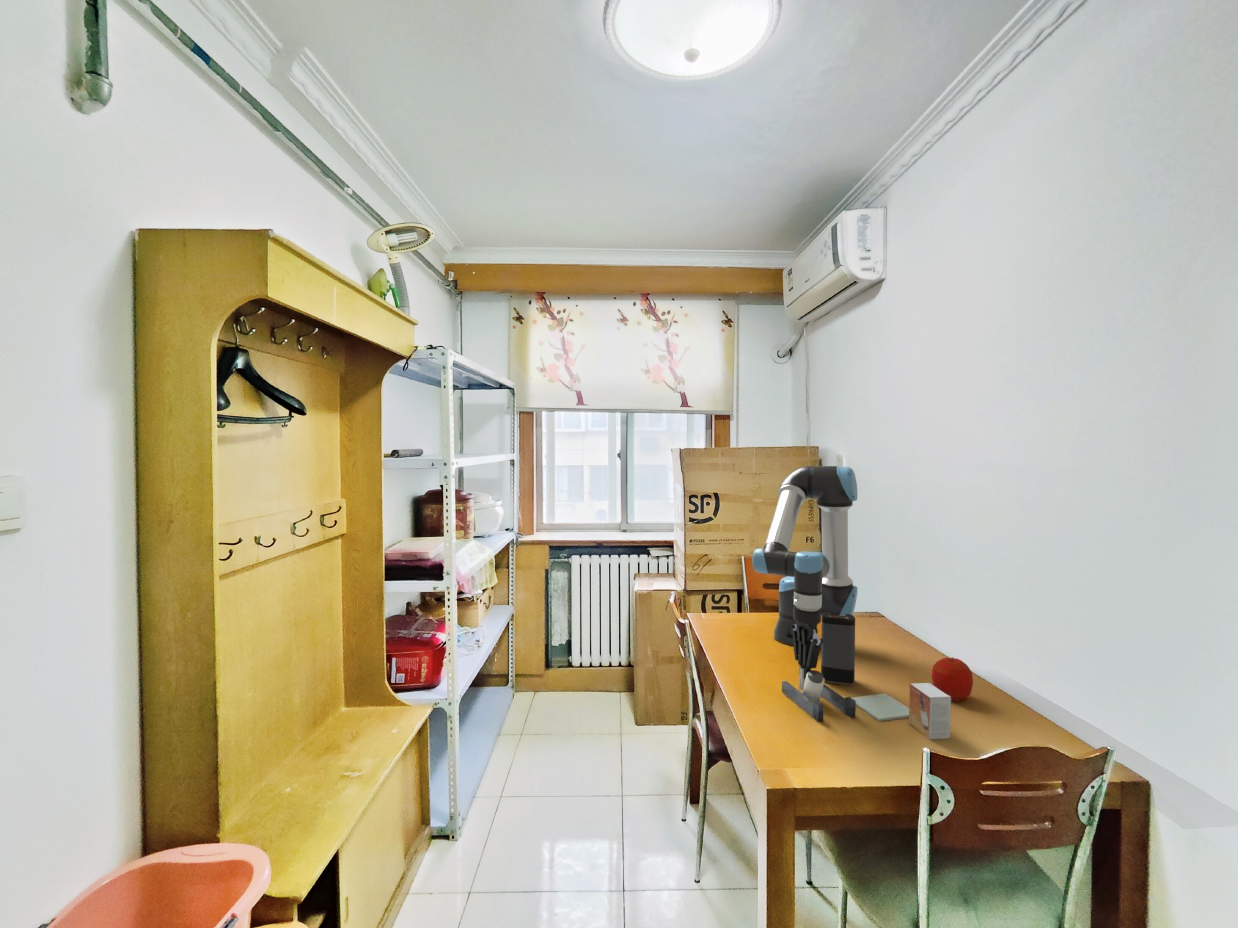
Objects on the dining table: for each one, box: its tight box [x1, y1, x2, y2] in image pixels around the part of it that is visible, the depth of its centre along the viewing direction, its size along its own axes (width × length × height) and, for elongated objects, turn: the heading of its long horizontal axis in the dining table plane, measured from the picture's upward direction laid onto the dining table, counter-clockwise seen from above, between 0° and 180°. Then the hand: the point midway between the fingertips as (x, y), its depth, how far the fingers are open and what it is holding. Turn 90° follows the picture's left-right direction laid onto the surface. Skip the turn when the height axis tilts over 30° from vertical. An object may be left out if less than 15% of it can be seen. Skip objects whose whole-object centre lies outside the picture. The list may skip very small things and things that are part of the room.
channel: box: [781, 680, 857, 723], centre depth 148 cm, size 18×11×4 cm, turn 13°
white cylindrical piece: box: [801, 669, 825, 702], centre depth 149 cm, size 5×5×8 cm
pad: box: [851, 693, 909, 722], centre depth 146 cm, size 12×12×1 cm
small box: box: [908, 682, 952, 740], centre depth 134 cm, size 8×6×10 cm
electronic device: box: [820, 612, 856, 686], centre depth 163 cm, size 9×6×20 cm, turn 71°
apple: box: [931, 657, 974, 702], centre depth 152 cm, size 10×10×12 cm
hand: (804, 688), depth 153 cm, fingers closed
